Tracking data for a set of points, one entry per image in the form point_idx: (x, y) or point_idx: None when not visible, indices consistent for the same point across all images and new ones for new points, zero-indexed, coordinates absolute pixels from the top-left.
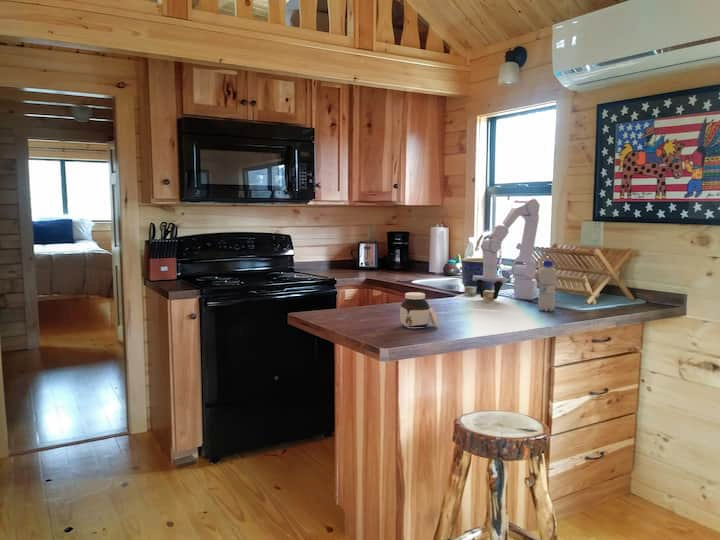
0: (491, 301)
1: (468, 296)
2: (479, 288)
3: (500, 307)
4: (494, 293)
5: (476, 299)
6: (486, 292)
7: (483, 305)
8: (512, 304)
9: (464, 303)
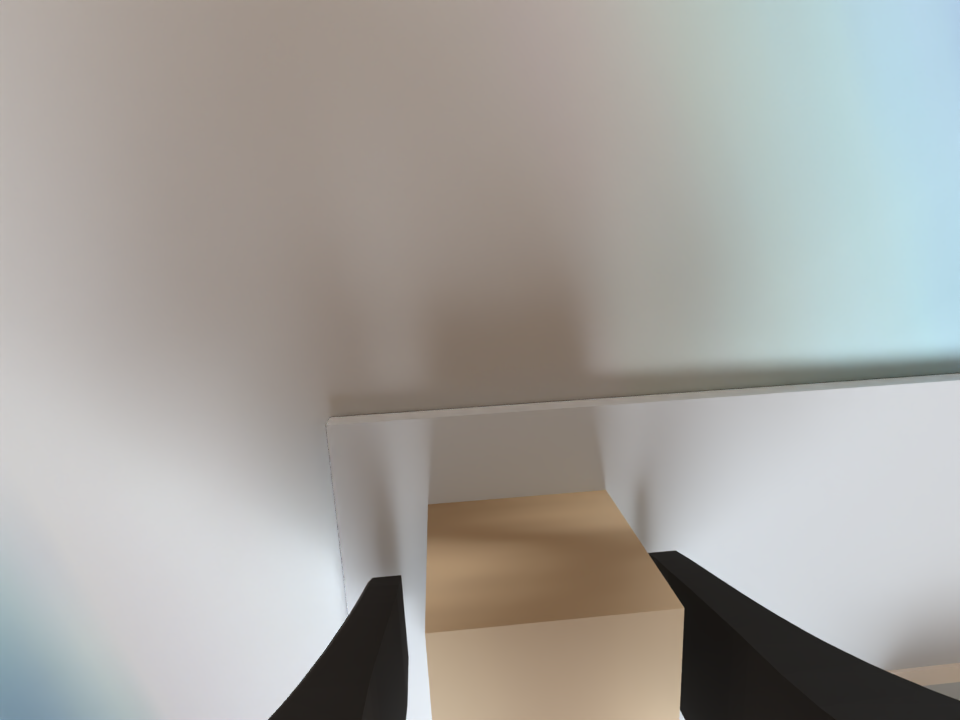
0: (436, 497)
1: (937, 682)
2: (842, 660)
3: (49, 90)
4: (377, 639)
5: (744, 526)
6: (586, 603)
7: (449, 112)
8: (40, 549)
9: (851, 109)
